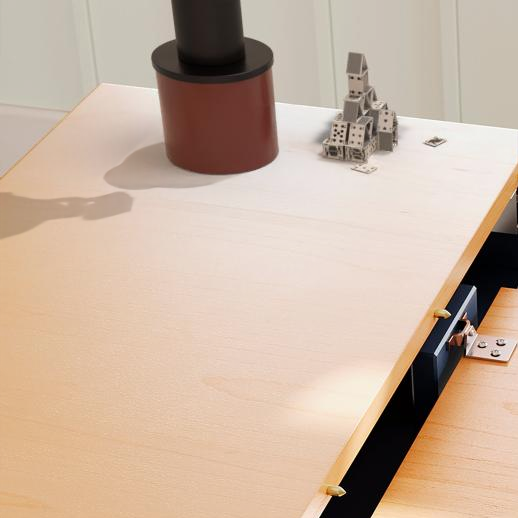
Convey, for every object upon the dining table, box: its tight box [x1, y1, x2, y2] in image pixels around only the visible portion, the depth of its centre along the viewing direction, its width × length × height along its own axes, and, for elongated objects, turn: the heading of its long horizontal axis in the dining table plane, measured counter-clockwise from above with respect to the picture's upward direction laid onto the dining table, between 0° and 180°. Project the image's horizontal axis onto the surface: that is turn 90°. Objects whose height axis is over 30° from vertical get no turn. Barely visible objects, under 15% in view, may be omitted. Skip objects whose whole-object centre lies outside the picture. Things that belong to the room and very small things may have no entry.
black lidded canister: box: [170, 0, 245, 66], centre depth 119 cm, size 5×5×8 cm
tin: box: [150, 36, 280, 176], centre depth 124 cm, size 9×9×8 cm
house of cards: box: [322, 51, 448, 174], centre depth 126 cm, size 9×9×8 cm
